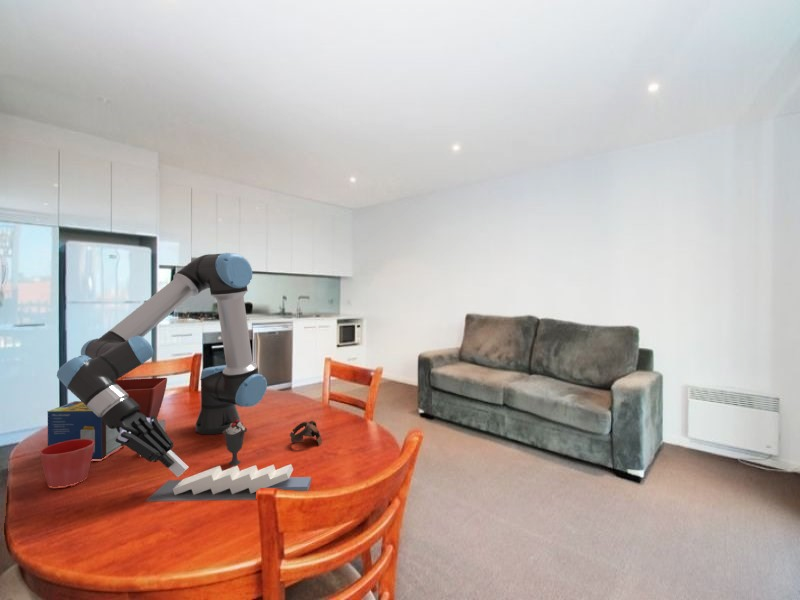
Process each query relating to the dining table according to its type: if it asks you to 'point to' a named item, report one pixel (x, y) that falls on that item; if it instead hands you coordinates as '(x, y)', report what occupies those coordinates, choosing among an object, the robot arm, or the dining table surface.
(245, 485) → the domino
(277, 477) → the domino
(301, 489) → the domino
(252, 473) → the domino
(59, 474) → the flower pot
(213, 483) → the domino
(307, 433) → the brown ring with handle
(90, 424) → the protein box
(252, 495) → the runner mat
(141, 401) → the plant pot
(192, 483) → the domino
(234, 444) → the sundae
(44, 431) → the dining table surface
